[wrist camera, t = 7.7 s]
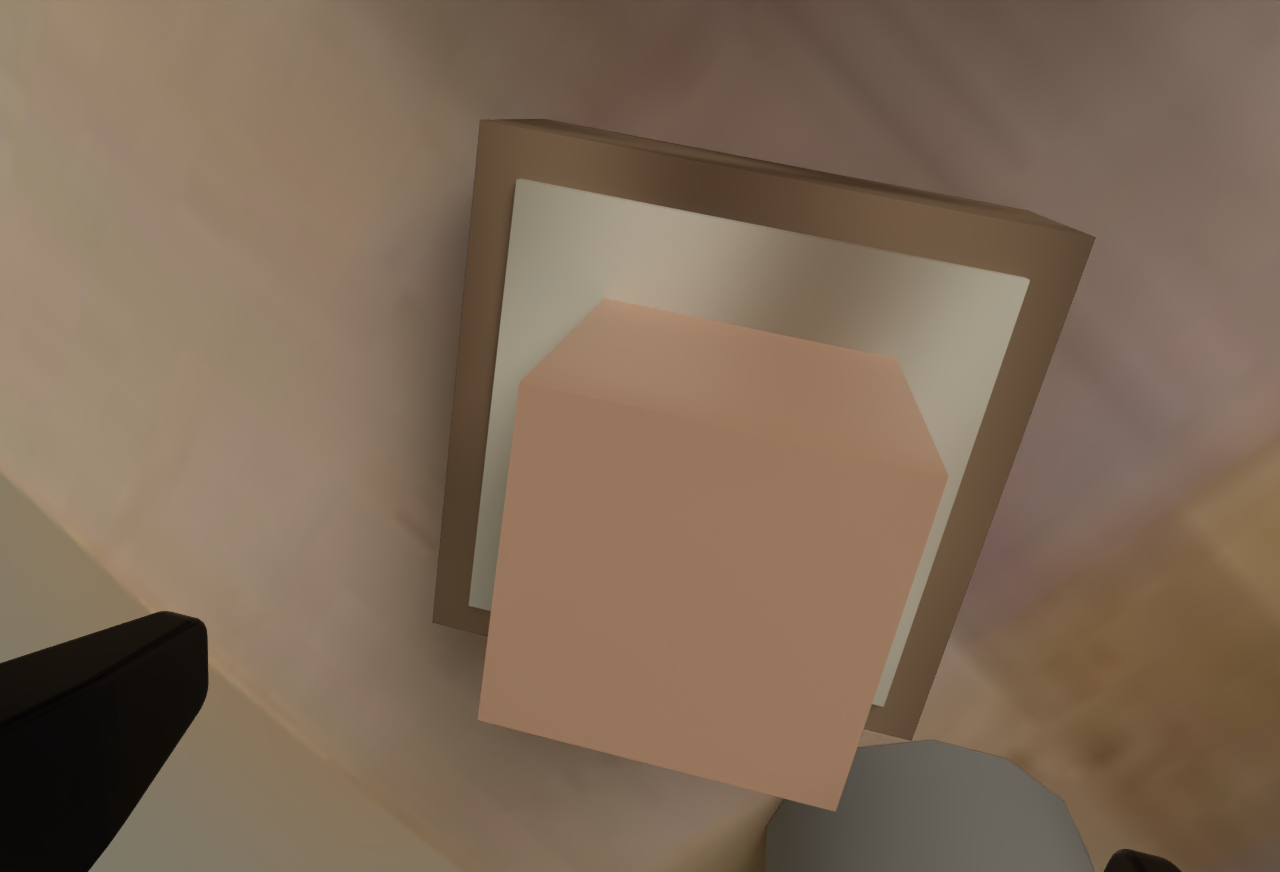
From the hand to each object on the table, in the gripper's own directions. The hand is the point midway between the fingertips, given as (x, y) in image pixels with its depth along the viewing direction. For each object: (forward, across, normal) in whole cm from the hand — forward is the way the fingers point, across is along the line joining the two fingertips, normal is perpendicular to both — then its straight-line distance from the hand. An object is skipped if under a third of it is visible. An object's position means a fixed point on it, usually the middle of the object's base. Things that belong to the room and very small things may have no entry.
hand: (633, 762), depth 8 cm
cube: (+8, 0, 0) cm, 8 cm away
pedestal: (+12, 0, 0) cm, 12 cm away
